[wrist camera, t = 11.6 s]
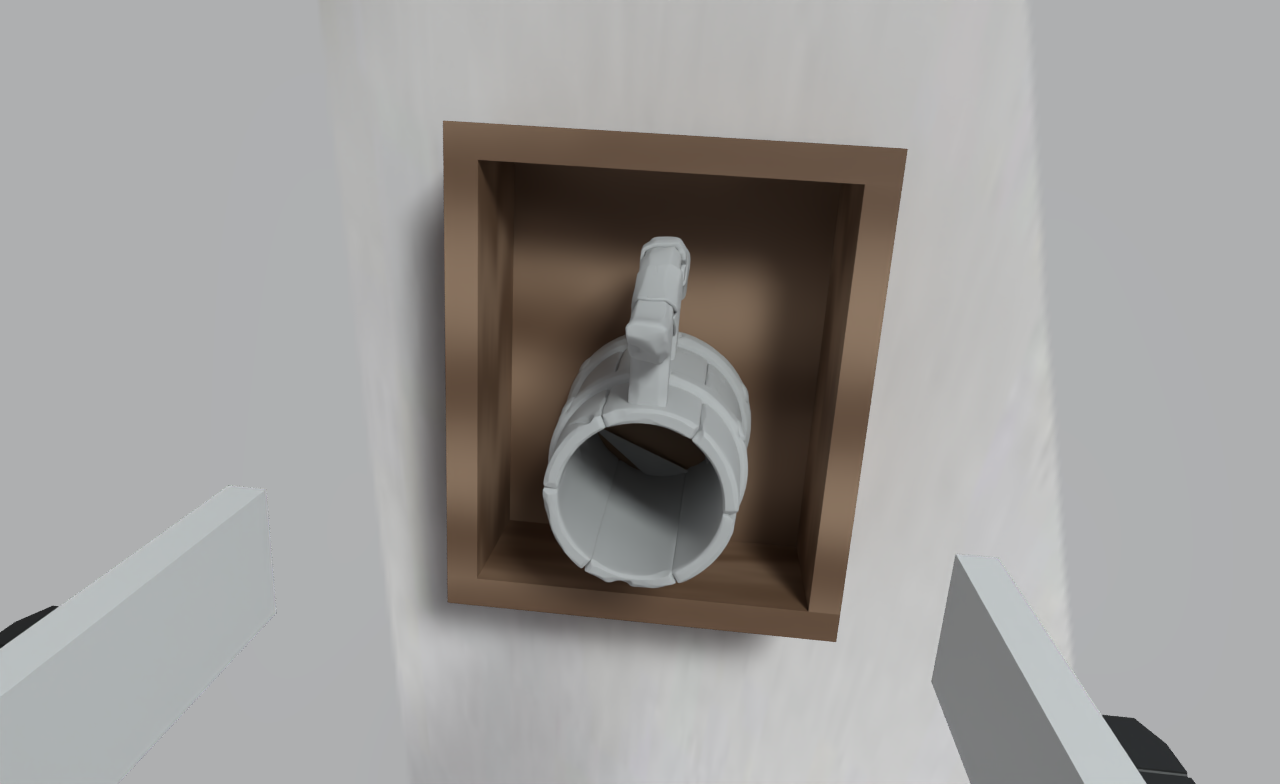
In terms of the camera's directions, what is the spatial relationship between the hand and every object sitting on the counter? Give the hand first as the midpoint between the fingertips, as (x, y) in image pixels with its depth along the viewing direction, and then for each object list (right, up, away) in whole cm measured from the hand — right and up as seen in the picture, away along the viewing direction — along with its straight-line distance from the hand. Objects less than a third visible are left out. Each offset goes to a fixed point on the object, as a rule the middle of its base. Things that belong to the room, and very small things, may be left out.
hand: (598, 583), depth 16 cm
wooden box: (+2, +5, +20) cm, 21 cm away
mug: (+2, +5, +20) cm, 21 cm away
